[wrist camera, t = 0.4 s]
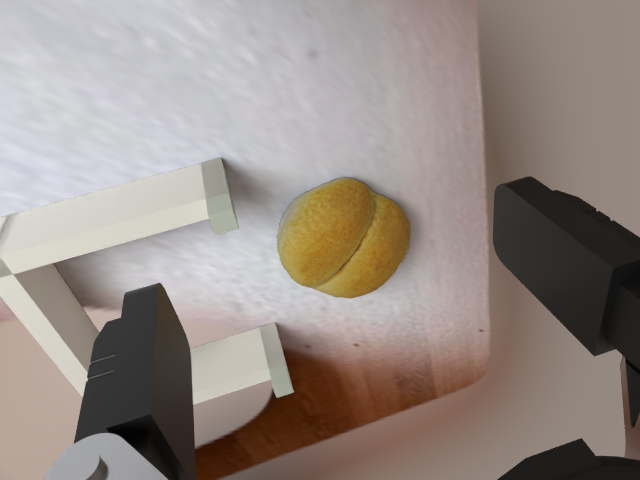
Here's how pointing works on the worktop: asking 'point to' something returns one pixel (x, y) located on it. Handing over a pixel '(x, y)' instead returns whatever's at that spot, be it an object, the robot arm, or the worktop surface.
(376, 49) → the worktop surface
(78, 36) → the worktop surface
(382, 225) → the bread roll
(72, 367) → the holder
